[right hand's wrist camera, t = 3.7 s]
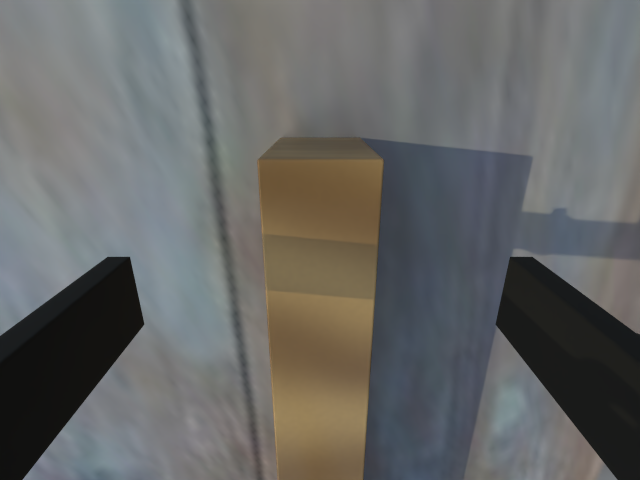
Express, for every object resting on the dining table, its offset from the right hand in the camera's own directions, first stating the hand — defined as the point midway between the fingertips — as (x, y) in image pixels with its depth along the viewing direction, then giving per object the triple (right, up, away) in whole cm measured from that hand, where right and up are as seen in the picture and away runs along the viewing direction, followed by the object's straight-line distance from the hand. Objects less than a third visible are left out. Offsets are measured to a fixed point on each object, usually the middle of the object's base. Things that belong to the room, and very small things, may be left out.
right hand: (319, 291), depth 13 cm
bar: (0, -24, +22) cm, 33 cm away
